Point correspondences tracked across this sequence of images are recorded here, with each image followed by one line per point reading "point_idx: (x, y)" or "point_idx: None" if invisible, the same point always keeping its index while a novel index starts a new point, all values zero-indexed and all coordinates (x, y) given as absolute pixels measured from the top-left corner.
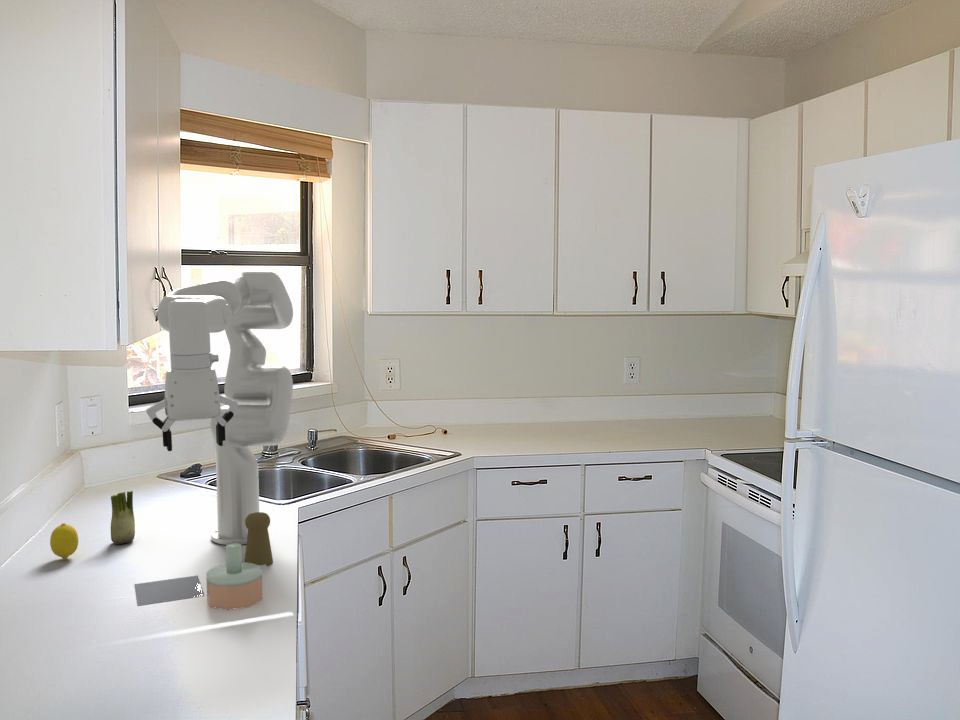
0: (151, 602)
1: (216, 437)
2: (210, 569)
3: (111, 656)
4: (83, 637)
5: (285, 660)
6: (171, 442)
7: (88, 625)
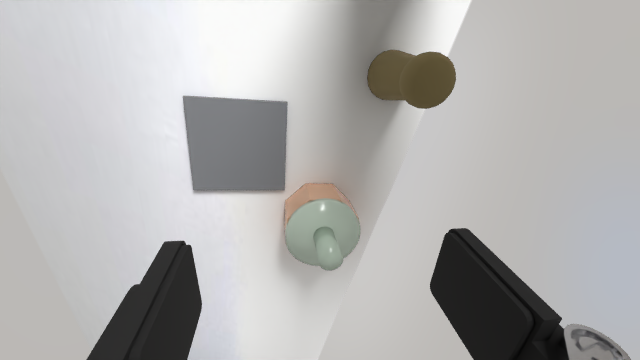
0: (212, 185)
1: (464, 252)
2: (294, 216)
3: None
4: (133, 247)
5: (324, 338)
6: (187, 349)
7: (132, 216)
